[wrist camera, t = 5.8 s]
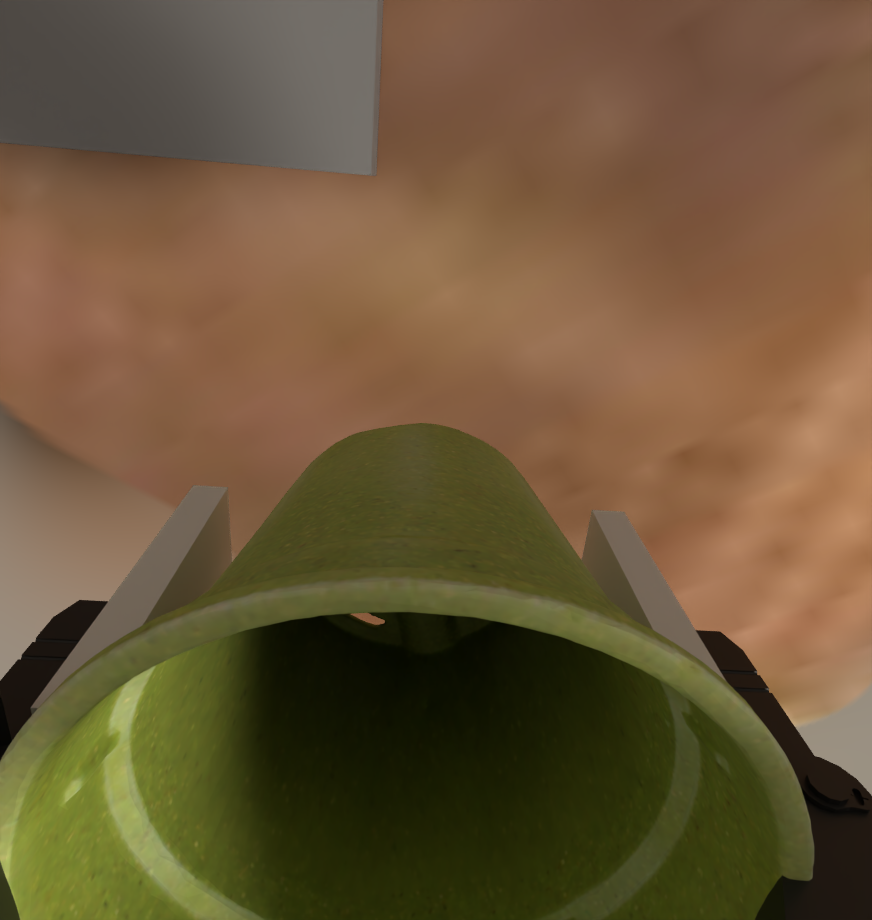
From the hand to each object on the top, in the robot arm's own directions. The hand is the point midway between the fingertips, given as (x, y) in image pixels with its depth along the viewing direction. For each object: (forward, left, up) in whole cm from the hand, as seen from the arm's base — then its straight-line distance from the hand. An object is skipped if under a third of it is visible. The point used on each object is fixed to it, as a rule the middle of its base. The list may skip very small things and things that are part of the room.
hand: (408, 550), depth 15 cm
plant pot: (0, 0, -1) cm, 1 cm away
